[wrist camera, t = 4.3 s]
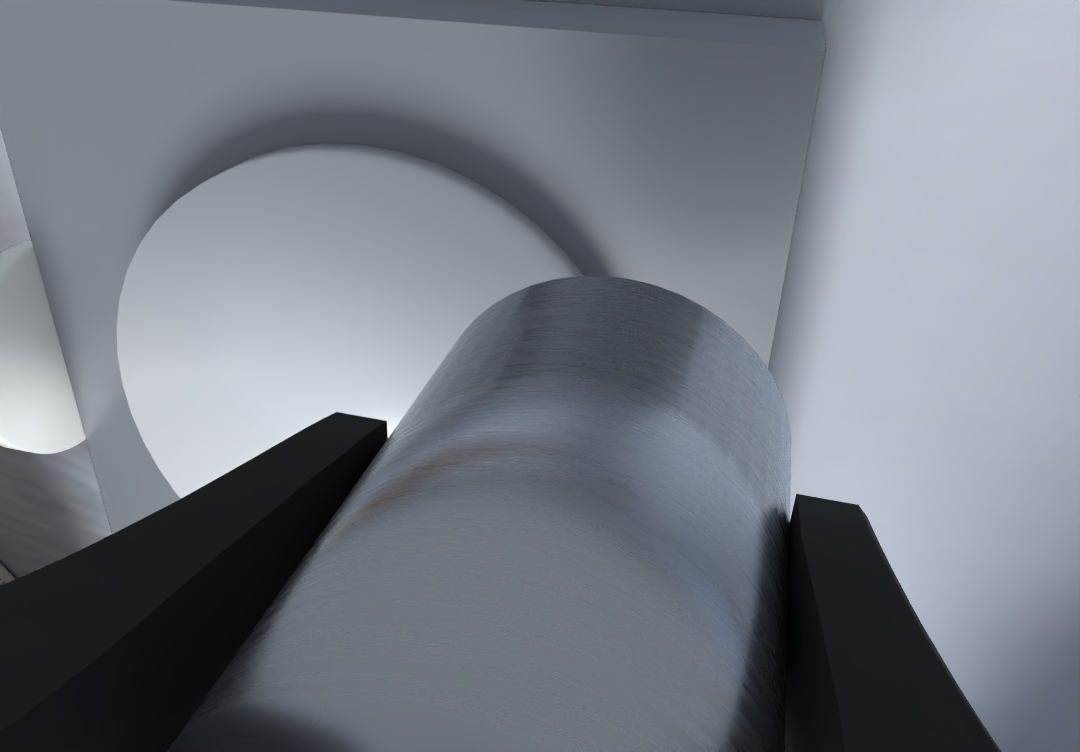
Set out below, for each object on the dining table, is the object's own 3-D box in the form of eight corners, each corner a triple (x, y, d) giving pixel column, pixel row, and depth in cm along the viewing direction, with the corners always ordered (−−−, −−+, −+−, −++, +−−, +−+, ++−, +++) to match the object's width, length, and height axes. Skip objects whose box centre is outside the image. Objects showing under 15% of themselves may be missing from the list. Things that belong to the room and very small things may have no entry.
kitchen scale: (712, 642, 22) (693, 814, 18) (161, 530, 25) (41, 658, 21) (821, 20, 15) (828, 83, 11) (27, -35, 17) (-194, -2, 14)
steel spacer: (749, 611, 12) (709, 1168, 7) (433, 537, 13) (188, 989, 8) (832, 314, 10) (863, 823, 5) (440, 244, 10) (99, 616, 5)
